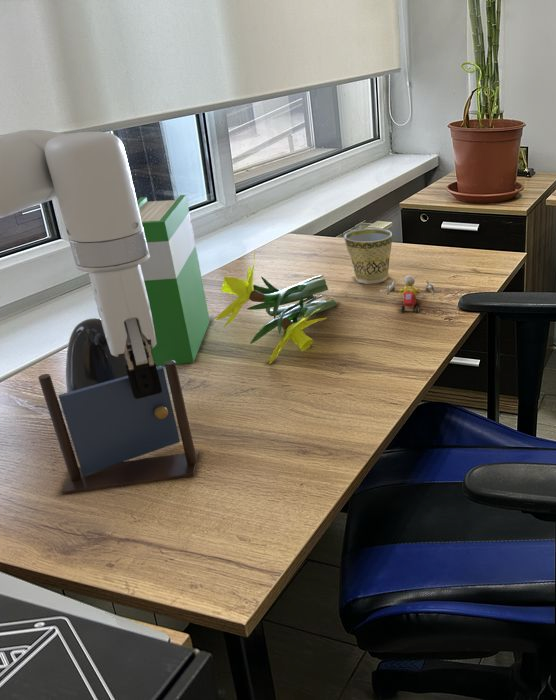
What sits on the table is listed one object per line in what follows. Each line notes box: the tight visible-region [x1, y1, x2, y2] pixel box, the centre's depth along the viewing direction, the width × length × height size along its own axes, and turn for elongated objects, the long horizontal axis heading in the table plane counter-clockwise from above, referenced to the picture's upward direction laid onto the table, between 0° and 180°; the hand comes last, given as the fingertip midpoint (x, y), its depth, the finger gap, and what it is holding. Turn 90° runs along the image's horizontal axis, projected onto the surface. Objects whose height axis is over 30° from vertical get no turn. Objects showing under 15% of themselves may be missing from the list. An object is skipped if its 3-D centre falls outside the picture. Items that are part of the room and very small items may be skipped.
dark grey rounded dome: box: [65, 317, 128, 393], centre depth 98 cm, size 10×10×15 cm
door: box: [57, 365, 181, 475], centre depth 87 cm, size 12×2×11 cm, turn 128°
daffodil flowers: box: [214, 251, 337, 365], centre depth 121 cm, size 17×15×35 cm
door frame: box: [38, 360, 199, 496], centre depth 85 cm, size 15×5×15 cm, turn 103°
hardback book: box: [136, 194, 211, 367], centre depth 118 cm, size 18×7×24 cm, turn 10°
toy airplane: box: [379, 275, 442, 314], centre depth 137 cm, size 9×9×6 cm
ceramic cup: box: [343, 227, 393, 285], centre depth 151 cm, size 13×10×10 cm
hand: (147, 393), depth 86 cm, fingers closed
